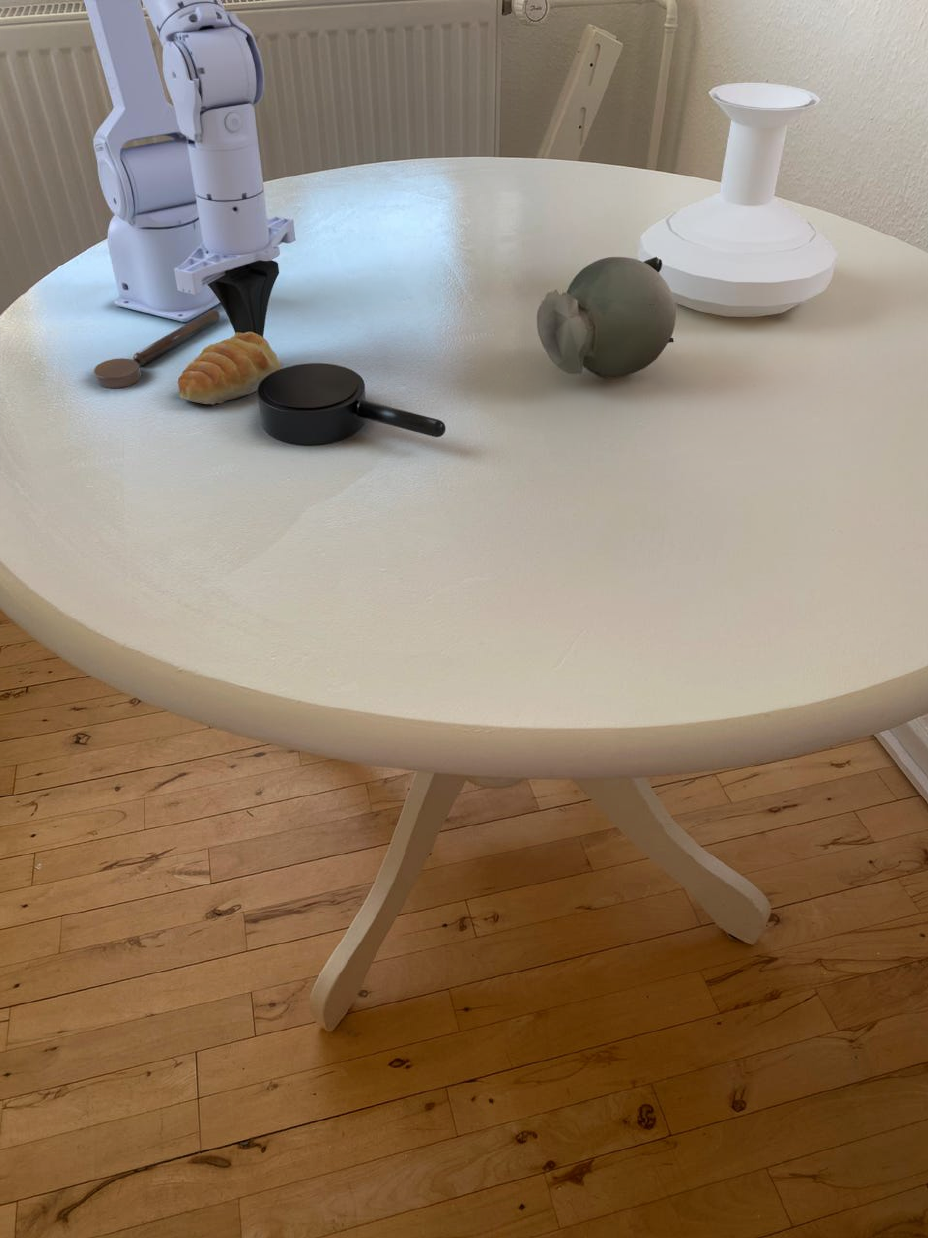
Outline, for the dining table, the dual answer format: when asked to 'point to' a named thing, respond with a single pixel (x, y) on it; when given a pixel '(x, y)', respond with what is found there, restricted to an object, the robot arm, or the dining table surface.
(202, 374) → the pastry
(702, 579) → the dining table surface
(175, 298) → the robot arm
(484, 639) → the dining table surface
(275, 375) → the pan
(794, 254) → the candle holder
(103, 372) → the spoon
